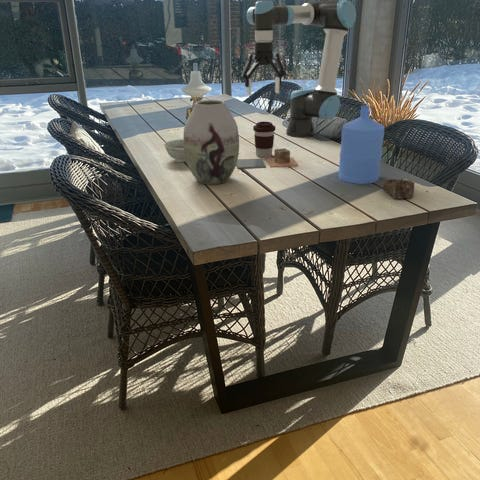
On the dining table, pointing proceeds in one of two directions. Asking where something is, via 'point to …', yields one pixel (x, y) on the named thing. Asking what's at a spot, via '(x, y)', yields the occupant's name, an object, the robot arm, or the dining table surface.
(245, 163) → the slate tile
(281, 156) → the walnut block
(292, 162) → the terracotta tile
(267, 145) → the coffee cup
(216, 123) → the vase
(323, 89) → the robot arm
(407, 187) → the rock
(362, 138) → the water jug
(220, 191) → the dining table surface
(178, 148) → the bowl
